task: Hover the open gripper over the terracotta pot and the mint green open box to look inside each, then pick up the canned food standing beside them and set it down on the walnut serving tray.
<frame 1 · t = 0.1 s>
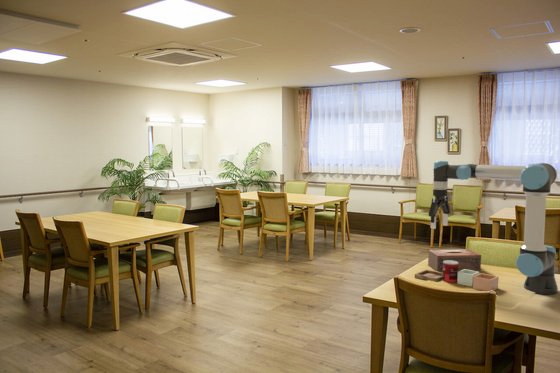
hand: (439, 226, 266), 28 cm above the table, tool pointing down, fingers open, 13 cm apart
tissue box cover: (453, 269, 285), on the table
pot: (485, 289, 245), on the table, touching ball
canned food: (450, 282, 258), on the table
tray: (431, 277, 266), on the table
mint green open box: (468, 284, 253), on the table, touching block
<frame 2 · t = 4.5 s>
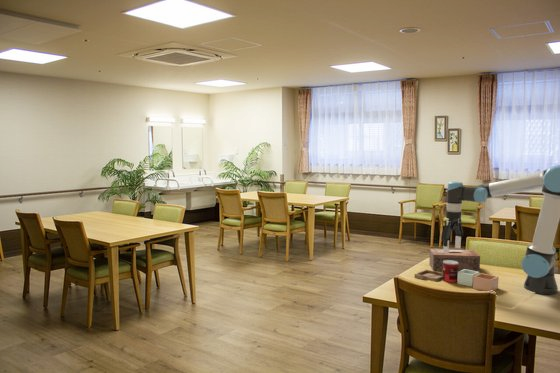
hand: (451, 250, 256), 17 cm above the table, tool pointing down, fingers open, 13 cm apart
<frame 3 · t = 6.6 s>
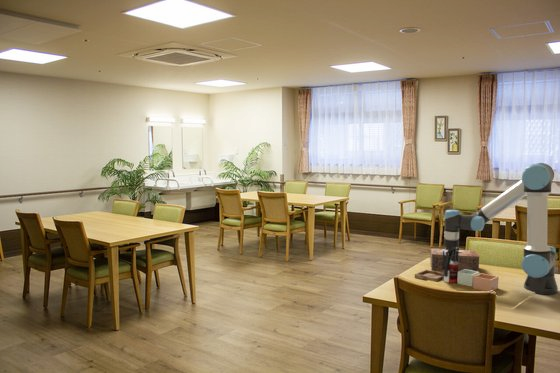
hand: (450, 280, 258), 1 cm above the table, tool pointing down, fingers closed on canned food, 8 cm apart
canned food: (450, 282, 258), on the table, touching gripper
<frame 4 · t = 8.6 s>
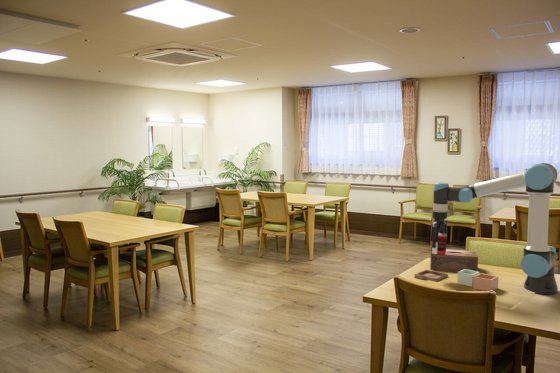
hand: (438, 252, 262), 15 cm above the table, tool pointing down, fingers closed on canned food, 8 cm apart
canned food: (438, 253, 262), point 14 cm above the table, touching gripper
when the fingers open (4 cm above the table, at t = 10.9 s): canned food drops 2 cm, resting on tray.
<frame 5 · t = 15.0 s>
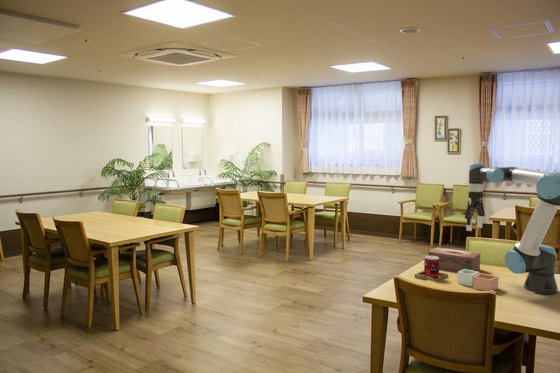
hand: (474, 229, 266), 27 cm above the table, tool pointing down, fingers open, 13 cm apart
canned food: (431, 276, 266), resting on tray
at the end: canned food inside the target area (0.0 cm from its centre), resting on tray; canned food tilted 0°; pot moved 0.2 cm from its start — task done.
